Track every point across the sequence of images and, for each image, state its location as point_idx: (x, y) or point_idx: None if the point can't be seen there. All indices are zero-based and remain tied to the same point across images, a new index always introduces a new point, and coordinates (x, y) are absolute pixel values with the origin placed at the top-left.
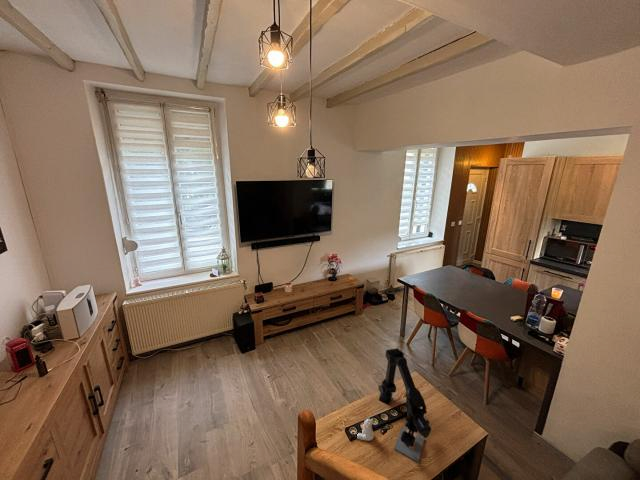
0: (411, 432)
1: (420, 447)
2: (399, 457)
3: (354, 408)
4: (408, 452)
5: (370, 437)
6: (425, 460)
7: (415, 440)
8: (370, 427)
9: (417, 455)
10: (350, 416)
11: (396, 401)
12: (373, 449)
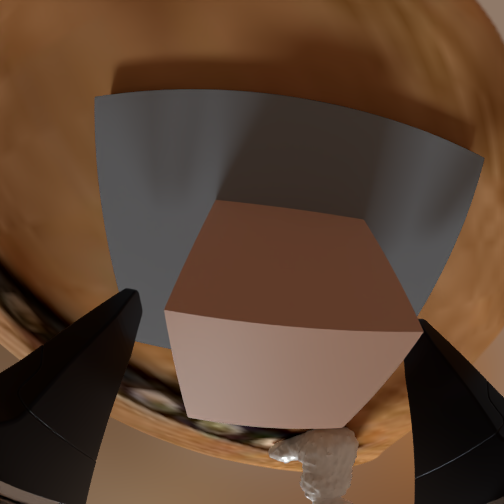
0: (203, 384)
1: (289, 119)
2: (436, 312)
3: (211, 454)
4: (410, 268)
5: (354, 451)
6: (416, 57)
7: (259, 240)
8: (330, 493)
9: (426, 164)
10: (255, 459)
11: (28, 342)
12: (390, 409)
